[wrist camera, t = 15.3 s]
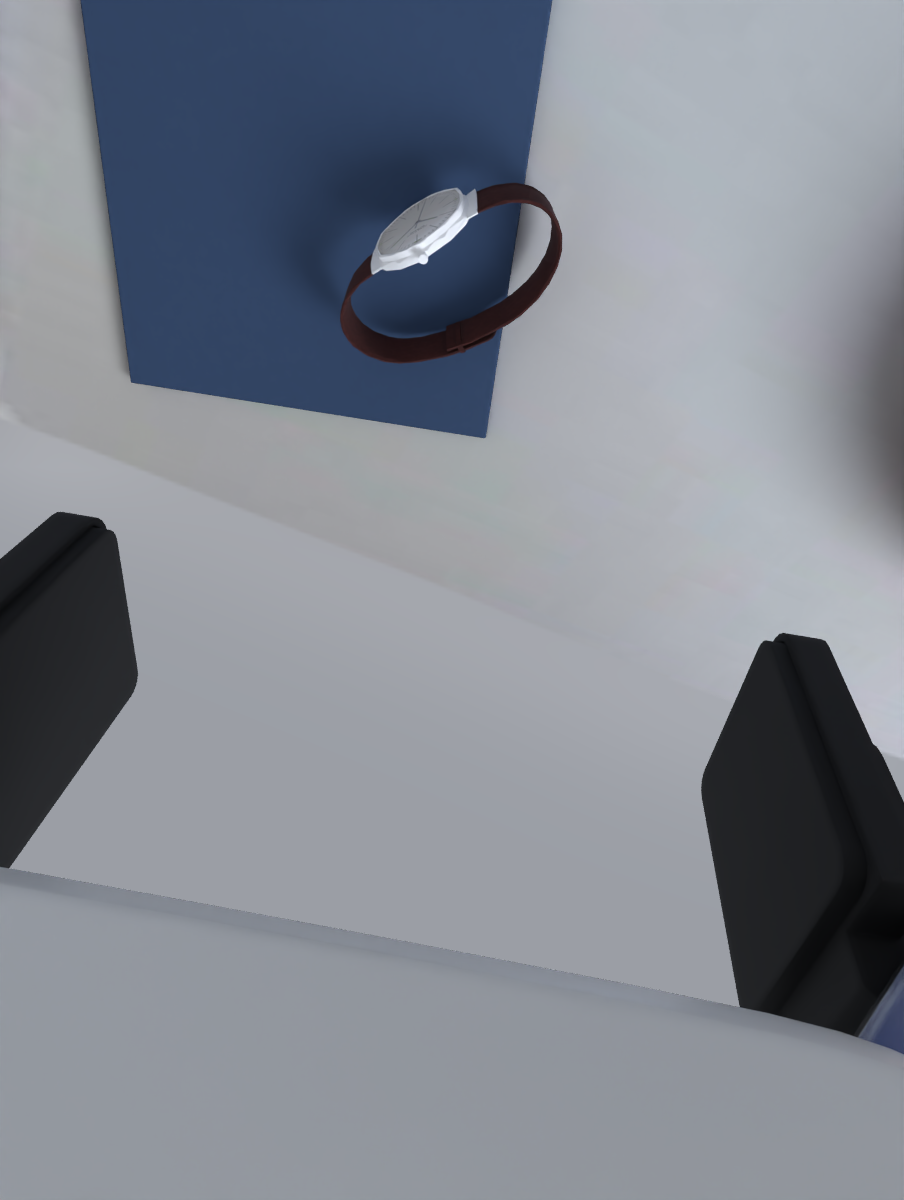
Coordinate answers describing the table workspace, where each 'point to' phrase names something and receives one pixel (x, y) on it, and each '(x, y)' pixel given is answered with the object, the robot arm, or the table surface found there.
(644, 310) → the table surface
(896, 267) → the table surface
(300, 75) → the mat
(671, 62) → the table surface
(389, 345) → the watch
